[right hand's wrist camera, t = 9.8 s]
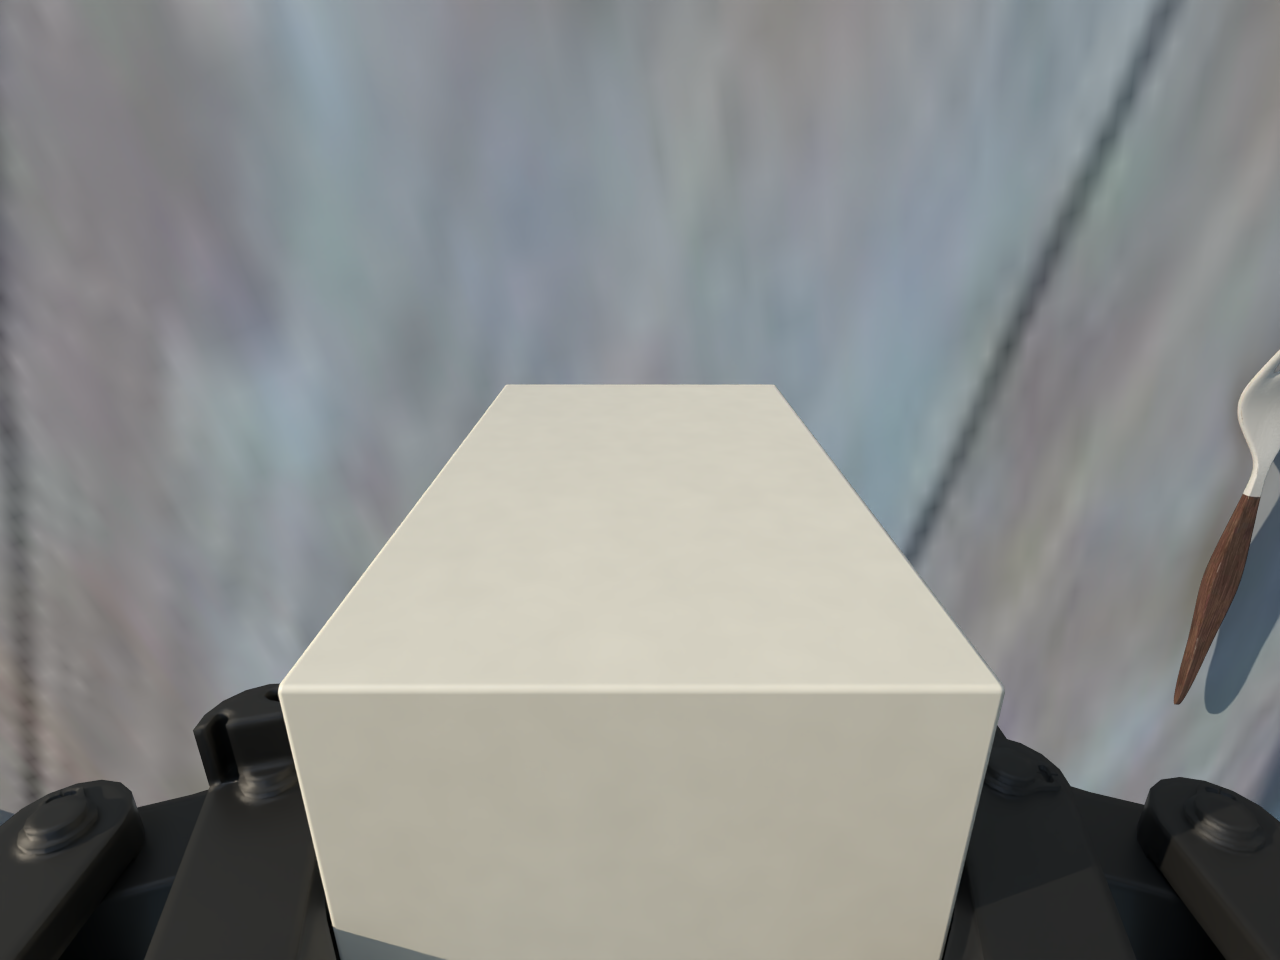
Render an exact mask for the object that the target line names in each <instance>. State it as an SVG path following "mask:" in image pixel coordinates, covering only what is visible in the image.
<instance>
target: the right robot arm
mask: <svg viewBox="0 0 1280 960" xmlns="http://www.w3.org/2000/svg"><path fill="white" fill-rule="evenodd" d="M279 685H280V684H268V685H265V686H261V687H257V688H253V689H249V690H246V691H244V692H241V693H239V694H237V695H235V696H233V697H231V698H229V699H227V700H224V701H223V702H221V703H220V704H219V705H217V706H216V707H215V708H213V709H212V710H211V711H209V712H208V713H207V714H205V715H204V717H203V718H202V719H201V721H200V722H199V723H198V725H197V726H196V727H195V729H194V730H193V732H194V735H195V739H196V742H197V746H198V749H199V752H200V756H201V759H202V762H203V766H204V769H205V773H206V776H207V779H208V783H209V786H210V787H209V790H206V791H202V792H199V793H196V794H193V795H189V796H184V797H180V798H176V799H172V800H167V801H163V802H159V803H155V804H150V805H146V806H142V807H138V808H137V806H136V803H135V800H134V797H133V795H132V792H131V791H130V790H129V789H128V788H127V787H125V786H124V785H123V784H122V783H121V782H113V781H106V780H97V781H91V782H85V783H78V784H75V785H72V786H69V787H66V788H64V789H61V790H58V791H55V792H52V793H50V794H48V795H46V796H44V797H42V798H40V799H39V800H37V801H35V802H33V803H32V804H30V805H28V806H26V807H24V808H23V809H21V810H20V811H19V812H17V813H16V814H15V815H14V816H12V817H11V818H10V819H9V820H7V821H6V822H5V823H4V824H3V825H1V826H0V960H341V959H340V955H339V951H338V947H337V942H336V938H335V934H334V930H333V925H332V921H331V917H330V913H329V908H328V904H327V900H326V896H325V891H324V887H323V883H322V878H321V874H320V870H319V866H318V861H317V857H316V853H315V849H314V844H313V840H312V836H311V832H310V827H309V823H308V819H307V815H306V810H305V806H304V802H303V798H302V793H301V789H300V785H299V781H298V776H297V772H296V768H295V763H294V759H293V755H292V751H291V746H290V742H289V738H288V734H287V729H286V725H285V721H284V717H283V712H282V708H281V704H280V700H279V695H278V689H279ZM942 960H1280V822H1279V821H1278V820H1277V819H1276V818H1274V817H1273V816H1272V815H1271V814H1269V813H1268V812H1267V811H1266V810H1264V809H1263V808H1262V807H1261V806H1259V805H1257V804H1255V803H1254V802H1252V801H1250V800H1248V799H1246V798H1245V797H1243V796H1241V795H1239V794H1237V793H1236V792H1234V791H1231V790H1229V789H1226V788H1223V787H1220V786H1218V785H1215V784H1212V783H1209V782H1206V781H1202V780H1196V779H1189V778H1183V777H1177V778H1170V779H1163V780H1160V781H1159V782H1158V783H1156V784H1155V785H1154V786H1153V787H1152V788H1150V791H1149V794H1148V796H1147V799H1146V802H1145V805H1142V804H1138V803H1134V802H1129V801H1125V800H1121V799H1117V798H1112V797H1108V796H1104V795H1100V794H1095V793H1091V792H1088V791H1084V790H1081V789H1078V788H1074V787H1071V786H1070V785H1069V783H1068V781H1067V780H1066V778H1065V777H1064V775H1063V774H1062V772H1061V771H1060V769H1059V768H1057V767H1056V766H1055V765H1054V764H1053V763H1052V762H1050V761H1049V760H1048V759H1047V758H1046V757H1044V756H1043V755H1042V754H1040V753H1038V752H1036V751H1035V750H1033V749H1031V748H1029V747H1027V746H1025V745H1023V744H1021V743H1018V742H1015V741H1011V740H1008V739H1006V737H1005V736H1004V734H1003V733H1002V731H1001V730H1000V728H999V727H998V726H997V728H996V732H995V736H994V741H993V745H992V749H991V753H990V757H989V762H988V766H987V770H986V774H985V779H984V783H983V787H982V791H981V795H980V800H979V804H978V808H977V812H976V817H975V821H974V825H973V829H972V833H971V838H970V842H969V846H968V850H967V855H966V859H965V863H964V867H963V871H962V876H961V880H960V884H959V888H958V893H957V897H956V901H955V905H954V909H953V914H952V918H951V922H950V926H949V931H948V935H947V939H946V943H945V947H944V952H943V956H942Z"/></svg>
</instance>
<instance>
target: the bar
mask: <svg viewBox="0 0 1280 960" xmlns="http://www.w3.org/2000/svg"><path fill="white" fill-rule="evenodd" d="M1004 694H1005V691H1004V687H1003V684H1002V683H1001V682H1000V680H999V679H998V678H997V676H996V675H995V674H994V672H993V671H992V670H991V668H990V667H989V666H988V664H987V663H986V662H985V660H984V659H983V658H982V657H981V655H980V654H979V653H978V651H977V650H976V649H975V647H974V646H973V645H972V643H971V642H970V641H969V639H968V638H967V637H966V636H965V634H964V633H963V632H962V630H961V629H960V628H959V626H958V625H957V624H956V622H955V621H954V620H953V618H952V617H951V616H950V614H949V613H948V612H947V611H946V609H945V608H944V607H943V605H942V604H941V603H940V601H939V600H938V599H937V597H936V596H935V595H934V593H933V592H932V591H931V590H930V588H929V587H928V586H927V584H926V583H925V582H924V580H923V579H922V578H921V576H920V575H919V574H918V572H917V571H916V570H915V568H914V567H913V566H912V565H911V563H910V562H909V561H908V559H907V558H906V557H905V555H904V554H903V553H902V551H901V550H900V549H899V547H898V546H897V545H896V544H895V542H894V541H893V540H892V538H891V537H890V536H889V534H888V533H887V532H886V530H885V529H884V528H883V526H882V525H881V524H880V523H879V521H878V520H877V519H876V517H875V516H874V515H873V513H872V512H871V511H870V509H869V508H868V507H867V505H866V504H865V503H864V501H863V500H862V499H861V498H860V496H859V495H858V494H857V492H856V491H855V490H854V488H853V487H852V486H851V484H850V483H849V482H848V480H847V479H846V478H845V477H844V475H843V474H842V473H841V471H840V470H839V469H838V467H837V466H836V465H835V463H834V462H833V461H832V459H831V458H830V457H829V455H828V454H827V453H826V452H825V450H824V449H823V448H822V446H821V445H820V444H819V442H818V441H817V440H816V438H815V437H814V436H813V434H812V433H811V432H810V431H809V429H808V428H807V427H806V425H805V424H804V423H803V421H802V420H801V419H800V417H799V416H798V415H797V413H796V412H795V411H794V409H793V408H792V407H791V406H790V404H789V403H788V402H787V400H786V399H785V398H784V396H783V395H782V394H781V392H780V391H779V390H778V388H777V387H776V386H775V385H506V386H505V387H504V388H503V390H502V391H501V392H500V394H499V395H498V396H497V398H496V399H495V400H494V402H493V403H492V404H491V406H490V407H489V408H488V410H487V411H486V412H485V414H484V415H483V416H482V418H481V419H480V420H479V422H478V423H477V424H476V425H475V427H474V428H473V429H472V431H471V432H470V433H469V435H468V436H467V437H466V439H465V440H464V441H463V443H462V444H461V445H460V447H459V448H458V449H457V451H456V452H455V453H454V455H453V456H452V457H451V459H450V460H449V461H448V463H447V464H446V465H445V467H444V468H443V469H442V470H441V472H440V473H439V474H438V476H437V477H436V478H435V480H434V481H433V482H432V484H431V485H430V486H429V488H428V489H427V490H426V492H425V493H424V494H423V496H422V497H421V498H420V500H419V501H418V502H417V504H416V505H415V506H414V508H413V509H412V510H411V512H410V513H409V514H408V516H407V517H406V518H405V519H404V521H403V522H402V523H401V525H400V526H399V527H398V529H397V530H396V531H395V533H394V534H393V535H392V537H391V538H390V539H389V541H388V542H387V543H386V545H385V546H384V547H383V549H382V550H381V551H380V553H379V554H378V555H377V557H376V558H375V559H374V561H373V562H372V563H371V564H370V566H369V567H368V568H367V570H366V571H365V572H364V574H363V575H362V576H361V578H360V579H359V580H358V582H357V583H356V584H355V586H354V587H353V588H352V590H351V591H350V592H349V594H348V595H347V596H346V598H345V599H344V600H343V602H342V603H341V604H340V606H339V607H338V608H337V610H336V611H335V612H334V613H333V615H332V616H331V617H330V619H329V620H328V621H327V623H326V624H325V625H324V627H323V628H322V629H321V631H320V632H319V633H318V635H317V636H316V637H315V639H314V640H313V641H312V643H311V644H310V645H309V647H308V648H307V649H306V651H305V652H304V653H303V655H302V656H301V657H300V658H299V660H298V661H297V662H296V664H295V665H294V666H293V668H292V669H291V670H290V672H289V673H288V674H287V676H286V677H285V678H284V680H283V681H282V682H281V684H280V685H279V689H278V695H279V700H280V704H281V708H282V712H283V717H284V721H285V725H286V729H287V734H288V738H289V742H290V746H291V751H292V755H293V759H294V763H295V768H296V772H297V776H298V781H299V785H300V789H301V793H302V798H303V802H304V806H305V810H306V815H307V819H308V823H309V827H310V832H311V836H312V840H313V844H314V849H315V853H316V857H317V861H318V866H319V870H320V874H321V878H322V883H323V887H324V891H325V896H326V900H327V904H328V908H329V913H330V917H331V921H332V925H333V930H334V934H335V938H336V942H337V947H338V951H339V955H340V959H341V960H942V956H943V952H944V947H945V943H946V939H947V935H948V931H949V926H950V922H951V918H952V914H953V909H954V905H955V901H956V897H957V893H958V888H959V884H960V880H961V876H962V871H963V867H964V863H965V859H966V855H967V850H968V846H969V842H970V838H971V833H972V829H973V825H974V821H975V817H976V812H977V808H978V804H979V800H980V795H981V791H982V787H983V783H984V779H985V774H986V770H987V766H988V762H989V757H990V753H991V749H992V745H993V741H994V736H995V732H996V728H997V724H998V720H999V715H1000V711H1001V707H1002V703H1003V698H1004Z"/></svg>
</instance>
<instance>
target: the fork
mask: <svg viewBox="0 0 1280 960" xmlns="http://www.w3.org/2000/svg"><path fill="white" fill-rule="evenodd" d="M1279 364H1280V350H1279V351H1278V352H1277V353H1276V354H1275V355H1274V356H1273V357H1272V358H1271V359H1270V360H1269V361H1268V362H1267V363H1266V364H1265V366H1264V367H1263V368H1262V369H1261V370H1260V371H1259V372H1258V373H1257V374H1256V375H1255V377H1254V378H1253V379H1252V380H1251V381H1250V382H1249V384H1248V385H1247V386H1246V388H1245V389H1244V391H1243V393H1242V394H1241V397H1240V399H1239V402H1238V419H1239V424H1240V427H1241V430H1242V432H1243V435H1244V437H1245V439H1246V442H1247V444H1248V446H1249V449H1250V451H1251V454H1252V458H1253V470H1252V474H1251V477H1250V480H1249V482H1248V484H1247V486H1246V489H1245V491H1244V493H1243V495H1242V497H1241V499H1240V501H1239V503H1238V505H1237V507H1236V509H1235V511H1234V512H1233V514H1232V516H1231V518H1230V520H1229V522H1228V524H1227V526H1226V528H1225V530H1224V532H1223V534H1222V536H1221V538H1220V540H1219V542H1218V544H1217V546H1216V548H1215V550H1214V552H1213V554H1212V556H1211V559H1210V561H1209V563H1208V565H1207V568H1206V570H1205V573H1204V575H1203V578H1202V581H1201V585H1200V588H1199V592H1198V596H1197V601H1196V606H1195V610H1194V615H1193V620H1192V624H1191V629H1190V633H1189V637H1188V641H1187V645H1186V649H1185V652H1184V656H1183V660H1182V663H1181V667H1180V671H1179V675H1178V679H1177V684H1176V689H1175V694H1174V704H1180V703H1181V702H1182V701H1183V699H1184V698H1185V696H1186V694H1187V693H1188V691H1189V689H1190V687H1191V685H1192V683H1193V681H1194V679H1195V677H1196V675H1197V673H1198V671H1199V669H1200V667H1201V665H1202V663H1203V661H1204V658H1205V656H1206V654H1207V652H1208V650H1209V648H1210V645H1211V643H1212V641H1213V639H1214V637H1215V635H1216V633H1217V631H1218V629H1219V627H1220V625H1221V623H1222V621H1223V619H1224V617H1225V615H1226V613H1227V611H1228V609H1229V607H1230V605H1231V603H1232V601H1233V598H1234V596H1235V594H1236V591H1237V589H1238V586H1239V583H1240V581H1241V577H1242V574H1243V571H1244V567H1245V563H1246V559H1247V555H1248V550H1249V546H1250V542H1251V537H1252V533H1253V528H1254V523H1255V519H1256V514H1257V510H1258V506H1259V501H1260V497H1261V493H1262V489H1263V485H1264V482H1265V478H1266V475H1267V473H1268V470H1269V468H1270V466H1271V464H1272V462H1273V460H1274V458H1275V457H1276V455H1277V454H1278V452H1279V450H1280V370H1279V371H1277V372H1274V371H1275V369H1276V368H1277V366H1278V365H1279Z"/></svg>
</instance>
